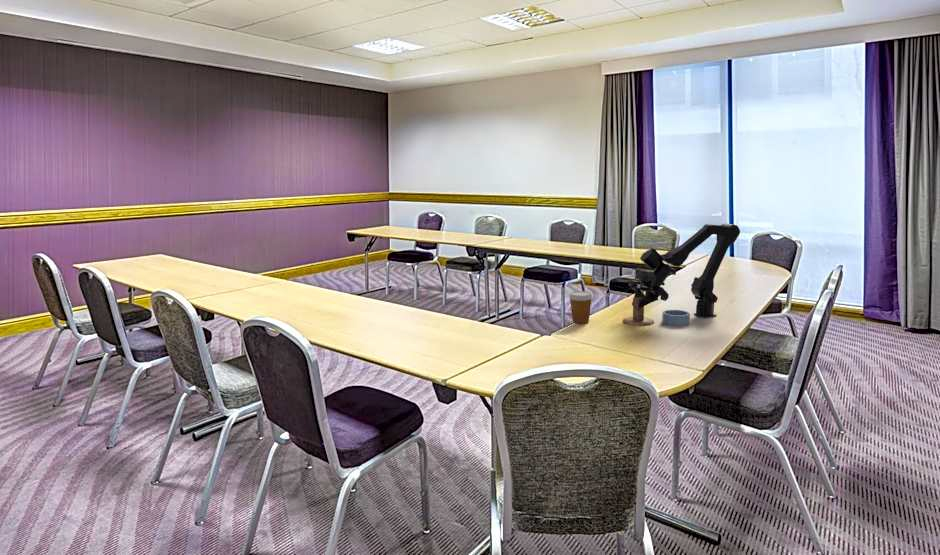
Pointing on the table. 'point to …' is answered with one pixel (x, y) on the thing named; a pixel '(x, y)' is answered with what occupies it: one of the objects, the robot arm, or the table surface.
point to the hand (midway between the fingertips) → (635, 306)
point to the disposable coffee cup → (580, 306)
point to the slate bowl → (676, 317)
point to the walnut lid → (638, 315)
